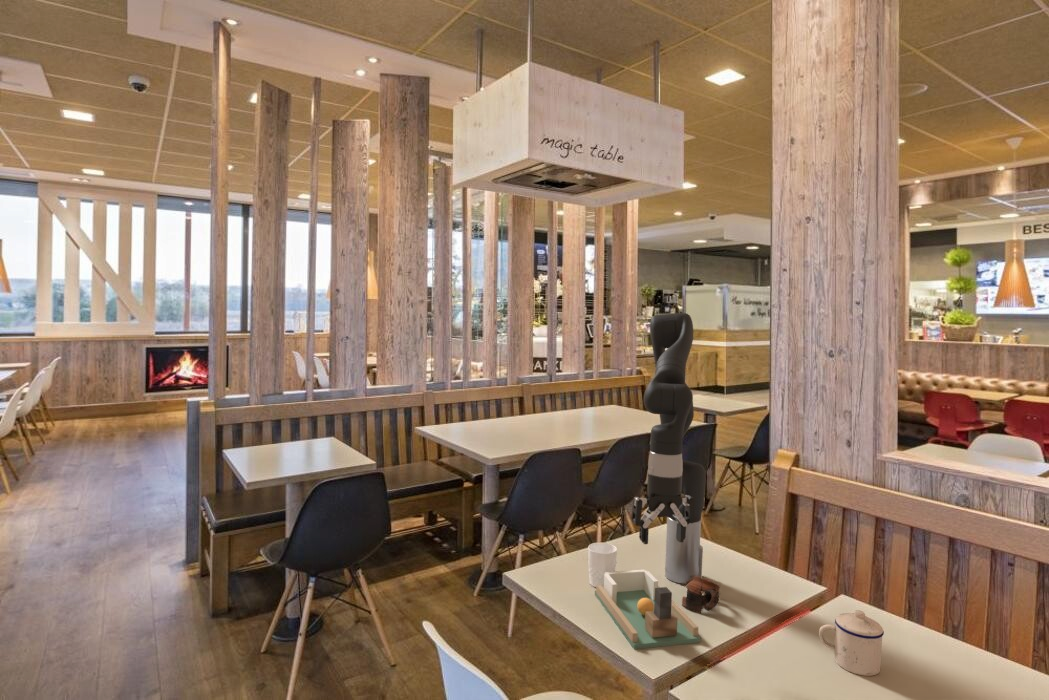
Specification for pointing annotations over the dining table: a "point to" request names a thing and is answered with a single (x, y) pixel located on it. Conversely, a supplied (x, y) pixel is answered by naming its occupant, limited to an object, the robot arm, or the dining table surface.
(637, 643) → the pitch
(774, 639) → the dining table surface
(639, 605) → the ball
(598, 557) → the white cup
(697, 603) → the pottery mug
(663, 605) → the striker
